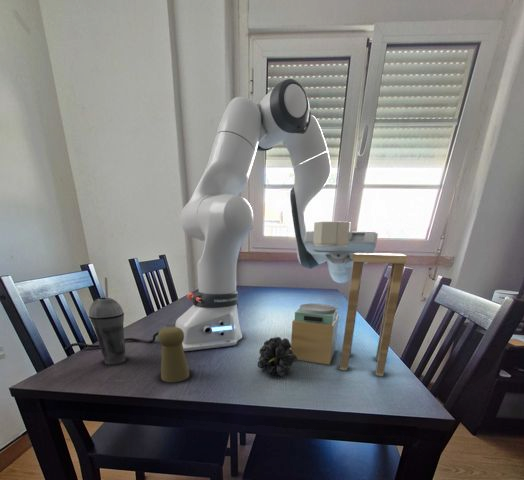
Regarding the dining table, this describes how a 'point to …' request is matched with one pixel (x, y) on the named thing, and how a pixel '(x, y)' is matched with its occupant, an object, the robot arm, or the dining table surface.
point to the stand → (389, 309)
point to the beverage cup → (109, 328)
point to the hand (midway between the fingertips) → (338, 226)
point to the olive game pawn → (173, 355)
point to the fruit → (276, 356)
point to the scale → (314, 333)
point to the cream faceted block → (331, 234)
